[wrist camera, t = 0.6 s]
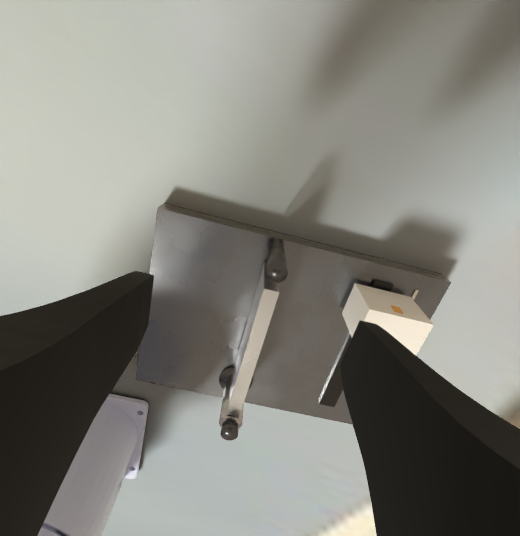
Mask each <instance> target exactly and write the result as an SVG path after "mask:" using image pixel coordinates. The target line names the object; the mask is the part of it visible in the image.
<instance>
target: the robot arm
mask: <svg viewBox="0 0 520 536" xmlns="http://www.w3.org/2000/svg"><path fill="white" fill-rule="evenodd" d="M153 281H154V275H151V274H147V273H142V272H138V271H135V272H132V273H129V274H126V275H124V276H121V277H119V278H117V279H114V280H112V281H109V282H107V283H104V284H102V285H100V286H97V287H95V288H92V289H90V290H87V291H84V292H82V293H79V294H76V295H73V296H70V297H68V298H65V299H62V300H59V301H56V302H53V303H50V304H47V305H43V306H40V307H36V308H32V309H29V310H25V311H21V312H17V313H13V314H9V315H4V316H0V536H101V535H102V532H103V530H104V527H105V525H106V522H107V520H108V517H109V515H110V512H111V510H112V507H113V505H114V502H115V500H116V497H117V495H118V492H119V490H120V488H121V485H122V483H123V480H124V478H129V479H135V478H136V477H137V475H138V471H139V465H140V458H141V452H142V446H143V439H144V433H145V426H146V420H147V414H148V407H149V405H148V403H147V402H146V401H144V400H139V399H134V398H129V397H124V396H119V395H114V394H110V392H111V391H112V389H113V387H114V386H115V384H116V383H117V381H118V380H119V378H120V377H121V375H122V373H123V372H124V370H125V369H126V367H127V366H128V364H129V362H130V361H131V359H132V358H133V356H134V354H135V353H136V351H137V349H138V347H139V345H140V343H141V341H142V339H143V336H144V334H145V332H146V330H147V327H148V324H149V315H150V307H151V298H152V290H153ZM340 369H341V378H342V385H343V391H344V395H345V399H346V402H347V406H348V409H349V413H350V416H351V420H352V423H353V427H354V430H355V433H356V437H357V440H358V444H359V447H360V450H361V454H362V458H363V462H364V466H365V470H366V475H367V480H368V486H369V491H370V497H371V502H372V508H373V514H374V521H375V527H376V533H377V536H520V429H518V428H517V427H515V426H513V425H512V424H510V423H508V422H507V421H505V420H503V419H502V418H500V417H499V416H497V415H495V414H494V413H492V412H491V411H489V410H488V409H486V408H485V407H483V406H482V405H480V404H479V403H477V402H476V401H474V400H473V399H472V398H470V397H469V396H467V395H466V394H464V393H463V392H462V391H460V390H459V389H457V388H456V387H455V386H453V385H452V384H451V383H449V382H448V381H447V380H446V379H444V378H443V377H442V376H440V375H439V374H438V373H436V372H435V371H434V370H433V369H432V368H430V367H429V366H428V365H427V364H425V363H424V362H423V361H422V360H421V359H419V358H418V357H417V356H416V355H415V354H413V353H412V352H411V351H410V350H409V349H407V348H406V347H405V346H404V345H403V344H402V343H400V342H399V341H398V340H397V339H396V338H394V337H393V336H392V335H391V334H389V333H388V332H387V331H386V330H384V329H383V328H382V327H380V326H379V325H377V324H374V323H370V322H365V321H361V320H360V321H359V323H358V325H357V328H356V330H355V332H354V334H353V337H352V339H351V341H350V344H349V346H348V348H347V350H346V353H345V355H344V357H343V360H342V362H341V364H340Z"/></svg>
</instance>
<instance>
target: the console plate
mask: <svg viewBox="0 0 520 536" xmlns="http://www.w3.org/2000/svg"><path fill="white" fill-rule="evenodd" d="M264 262H267V277H268V279H269V280H270V281H272V282H274V283H279V295H278V298H277V302H276V305H275V308H274V311H273V314H272V317H271V320H270V323H269V326H268V330H267V333H266V336H265V339H264V342H263V345H262V348H261V351H260V354H259V357H258V361H257V364H256V367H255V370H254V373H253V376H252V379H251V382H250V385H249V389H248V392H247V395H246V398H245V401H244V402H247V403H251V404H256V405H261V406H266V407H271V408H276V409H280V410H285V411H290V412H295V413H300V414H305V415H310V416H314V417H319V418H324V419H329V420H334V421H339V422H344V423H348V424H353V423H352V420H351V416H350V413H349V409H348V406H347V402H346V399H345V395H344V391H343V385H342V378H341V369H340V364H341V362H342V360H343V357H344V355H345V353H346V350H347V348H348V346H349V344H350V341H351V339H352V337H351V335H350V332H349V330H348V327H347V325H346V322H345V320H344V317H343V315H342V312H343V310H344V307H345V305H346V303H347V300H348V298H349V295H350V293H351V291H352V288H353V286H354V284H355V283H357V284H361V285H365V286H369V287H373V288H377V289H381V290H385V291H389V292H393V293H397V294H401V295H405V296H409V297H411V298H412V299H413V300H414V302H415V303H416V304H417V305H418V306H419V308H420V309H421V310H422V311H423V312H424V314H425V315H426V316H427V317H428V318H429V320H430V319H431V317H432V315H433V314H434V312H435V310H436V308H437V306H438V305H439V303H440V301H441V299H442V298H443V296H444V294H445V292H446V291H447V289H448V287H449V285H450V283H451V282H450V281H449V280H448V279H447V278H445V277H444V276H443V275H442V274H439V273H435V272H431V271H427V270H424V269H420V268H416V267H412V266H408V265H404V264H400V263H396V262H392V261H388V260H384V259H380V258H376V257H373V256H369V255H365V254H361V253H357V252H353V251H349V250H345V249H341V248H337V247H333V246H329V245H325V244H322V243H318V242H314V241H310V240H306V239H302V238H298V237H294V236H290V235H286V234H282V233H278V232H275V231H271V230H267V229H263V228H259V227H255V226H251V225H247V224H243V223H239V222H235V221H231V220H227V219H224V218H220V217H216V216H212V215H208V214H204V213H200V212H196V211H192V210H188V209H184V208H180V207H176V206H173V205H169V204H165V203H164V204H163V205H161V206H160V207H159V208H158V211H157V218H156V226H155V234H154V242H153V250H152V257H151V265H150V273H149V274H151V275H154V281H153V290H152V298H151V307H150V315H149V324H148V327H147V330H146V332H145V334H144V336H143V339H142V341H141V343H140V351H139V359H138V367H137V375H136V380H140V381H145V382H150V383H154V384H159V385H164V386H169V387H174V388H179V389H183V390H188V391H193V392H198V393H203V394H208V395H213V396H217V397H222V398H223V395H224V389H225V383H226V379H227V377H229V376H230V375H232V373H233V369H234V366H235V362H236V359H237V355H238V352H239V348H240V345H241V341H242V338H243V334H244V331H245V327H246V324H247V320H248V317H249V313H250V310H251V306H252V303H253V300H254V296H255V293H256V289H257V286H258V282H259V279H260V275H261V272H262V268H263V265H264ZM238 427H239V425H238V423H237V422H236V421H234V420H226V421H224V422H223V423H222V429H221V436H222V438H224V439H226V440H234V439H236V438H237V436H238Z"/></svg>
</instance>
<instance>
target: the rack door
mask: <svg viewBox="0 0 520 536" xmlns="http://www.w3.org/2000/svg"><path fill="white" fill-rule="evenodd" d="M278 295H279V283H274V282H272V281H270V280H269V279H268V277H267V262H264V265H263V268H262V272H261V275H260V279H259V282H258V286H257V289H256V293H255V296H254V300H253V303H252V306H251V310H250V313H249V317H248V320H247V324H246V327H245V331H244V334H243V338H242V341H241V345H240V348H239V352H238V355H237V359H236V362H235V366H234V369H233V373H232V375H230V376H229V377H227V379H226V383H225V389H224V395H223V402H222V408H221V414H220V420H219V424H220V426H221V427H222V423H223V422H224V421H226V420H234V421H236V422H237V423H238V425H239V427H238V429H239V428H240V427H241V426H242V418H243V406H244V401H245V398H246V395H247V392H248V389H249V385H250V382H251V379H252V376H253V373H254V370H255V367H256V364H257V361H258V357H259V354H260V351H261V348H262V345H263V342H264V339H265V336H266V333H267V330H268V326H269V323H270V320H271V317H272V314H273V311H274V308H275V305H276V302H277V298H278Z"/></svg>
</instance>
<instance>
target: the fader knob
mask: <svg viewBox="0 0 520 536" xmlns="http://www.w3.org/2000/svg"><path fill="white" fill-rule="evenodd" d="M342 315H343V317H344V320H345V322H346V325H347V327H348V330H349V332H350V335H351V337H353V334H354V332H355V330H356V328H357V325H358V323H359V321H360V320H361V321H365V322H370V323H374V324H377V325H379V326H380V327H382V328H383V329H384V330H386V331H387V332H388V333H389V334H391V335H392V336H393V337H394V338H396V339H397V340H398V341H399V342H400V343H402V344H403V345H404V346H405V347H406V348H407V349H409V350H410V351H411V352H412V353H413V354H415V355H417V353H418V351H419V350H420V348H421V346H422V344H423V343H424V341H425V339H426V337H427V336H428V334H429V332H430V331H431V329H432V327H433V325H434V324H433V323H432V322H431V321H430V320H429V318H428V317H427V316H426V315H425V314H424V312H423V311H422V310H421V309H420V308H419V306H418V305H417V304H416V303H415V302H414V300H413V299H412V298H411V297H409V296H405V295H401V294H397V293H393V292H389V291H385V290H381V289H377V288H373V287H369V286H365V285H361V284H357V283H355V284H354V286H353V288H352V291H351V293H350V295H349V298H348V300H347V303H346V305H345V307H344V310H343V312H342Z"/></svg>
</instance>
